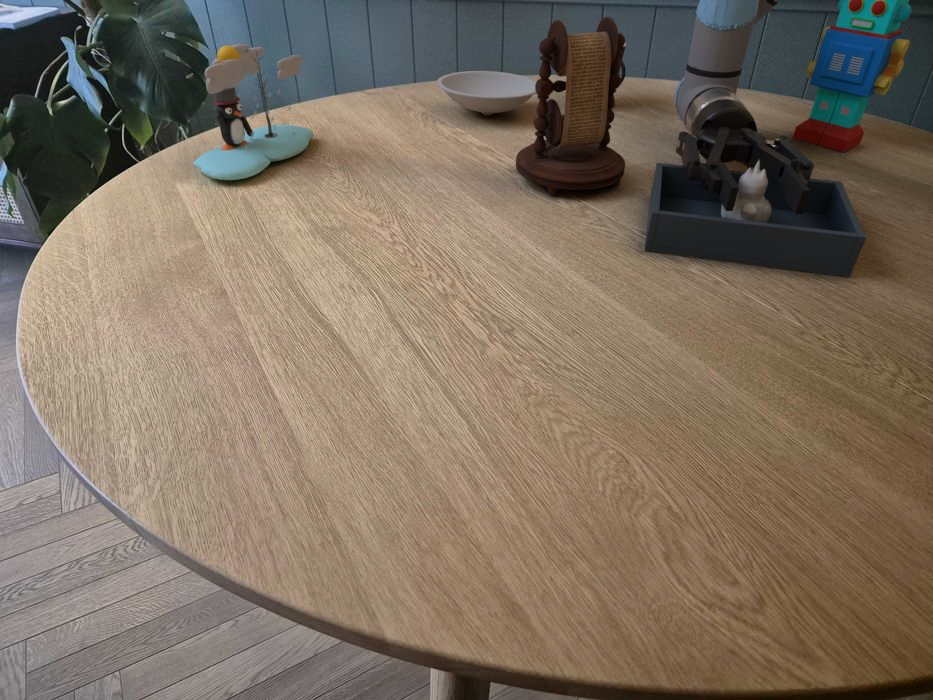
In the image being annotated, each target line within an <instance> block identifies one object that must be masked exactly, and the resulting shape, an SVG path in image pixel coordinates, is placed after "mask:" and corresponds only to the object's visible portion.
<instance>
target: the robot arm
mask: <svg viewBox="0 0 933 700" xmlns="http://www.w3.org/2000/svg"><path fill="white" fill-rule="evenodd" d="M779 2H781V0H699V1H698V5H697V6H696V11H695V14H696V15H695V21H694V27H693V32H692V38H691V44H690V49H689V53H688V59H687V63H686V66H685V70H684V75H683V77H682V78H681V79H680V80H679V82H678V84H677V86H676V88H675V92H674V105H675V108H676V112H677V115H678V116H679V119H680V120H681V121H682V122H683V124H684V126H685V128H686V129H687V131H680V132H679V133H678V137H677V142H676V148H675V154H677V155H678V156H679V157H680V158H681V163H682V165H683V168H684V174H685V179H686V180H687V181H696V178H699V179H702V183H701V189H703V190H710V191H711V192H716V193H717V195H718V197H719V199H720V201H721V203H722V205H723V207H724V209H725V211H733V208H734V204H735V201H736V197H737V193H738V190H739V187H738V185H737V183H736V182H735V180H734V178H733V176H732V175H731V173H730V171H729V170H730V169H729V168H728V166H727V164H728V163H733V162H736V163H741V164H742V165H744V166H745V167H747V168H748V169H749V168H751V169H754V168H755V166H756V164H757V162H758V160H759V161H760V171H762V170H763V169H765V171H766V175H768V176H769V177H771V178H772V179H774V180H775V181H777V182H778V183H779V187H778V190H779V191H780V192H781V194H782V195H783V197H784V198H785V200H786V201H787V203H788V204H789V206H790V207H791V208H792V210H793V211H794V213H795V214H803V211H804V208H805V205H806V202H807V199H808V196H809V194H810V189H809V188H808V187H807V185H808V182H809V180H810V178H811V177H812V173H813V171H814V168H815V163H814V162H812V161H811V160H810V159H809V158H808V157H807V156H806V155H805V154H804V153H803V152H801V151H800V150H799V149H798V148H797V147H796V146H795V145H794V144H793V143H791V140H790V137H789V136H787V135H784V134H782V135H779V136H778V138H775V139H774V140H771V139H770V140H769V139H767V138H766V136H765V135H764V134H763V133H760V132H759V131H758V127H757V123H756V120H755V118H754V116H753V115H752V114H751V112H750V111H749V109H748V108H747V107H746V106H745V104H744V102H743V101H742V100H741V99H740V98H739V97H738V95H737V90H738V86H739V83H740V79H741V75H742V71H743V65H744V62H745V58H746V55H747V51H748V47H749V43H750V39H751V36H752V32H753V29H754V26H756V24H757V23H758V22H759V21H760V20H762V19H763V18H764V16H766V15H767V14H768V13H769V12H770V11H771V10H773V8H775V6H777V4H779ZM700 156H701V157H702V158H703V159H704V160H706V161H705V163H704V162H701V157H700Z"/></svg>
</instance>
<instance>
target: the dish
mask: <svg viewBox="0 0 933 700" xmlns="http://www.w3.org/2000/svg"><path fill="white" fill-rule="evenodd" d="M536 82H537V80H535V79H532V78H530V77H527V76H523V75H520V74H515V73H510V72H505V71H495V70H494V71H493V70H492V71H491V70H468V71H457V72H452V73H448V74H444V75H442V76H440V77H439V78H438V79H437V81H436V84H437V87H438V88H440V89H441V90H443V91H444V92H445V93H446V95H447V96H448V97H449V98H450V99H451V100H452V101H453V102H454V103H456V104H457V105H459V106H461V107H462V108H464V109H467V110H469V111H473V112H479V113H482V115H484V116H492V115H493V114H499V113H505V112H510V111H513V110H515V109H518V108H520V107H521V106H522V105H524V104H525V103H526V102H527V101H529V100H530V99H531V98H532V97H533V96H534V95H537V93H536V91H535V84H536Z"/></svg>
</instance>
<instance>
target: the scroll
mask: <svg viewBox="0 0 933 700" xmlns="http://www.w3.org/2000/svg"><path fill="white" fill-rule="evenodd" d="M625 43H626V38H625V36H624V35H623V33H621V32H619V29H618V27H617V24H616V22H615V20H614V19H613V17H611V16H605V17H603V18H601V20H600V21H599V22H598V25H597V28H596V32H593V31H592V32H581V33H568V32H567V28H566V26H565V24H564V22H562V20H559V19H556V20H554V21H553V22H552V23H551V25H550V27H549V29H548V32H547V37H545V38H542V40H541V41H540V43H539V45H538V51H539V52H540V54H541V56H539V60H541V61H542V62H541V64H540V67H539V71H538V76H539V79H537V80H536V84H535V91H536V95H537V96H536V98H537V99H538V103H537V106H536V109H535V112H536V114H537V116H536V117H535V119H534V120H533V127H534V129H535V130H536V131H535V132H534V136H536V138H535V140H534V142H533V143H531V144H529V145H527V146H525V147H523V148H522V149H521V150H519V152H518V153H517V154H516V157H515V169H516V171H517V172H518V174H519V175H520V176H522V178H525V179H526V180H528V181H530V182H532V183H534V184H538V185H541V186H544V187H547V192H548V195H549V196H550V197H553V196H554V195H555V194H556V190H557V189H561V190H571V191H572V190H573V191H581V190H582V191H584V190H585V191H586V190H594V189H595V190H596V189H600V188H605V187H608V186H611V185H612V186H613V187H614V188H617V187H618V186H619V184H620V183H621V179H622V178H623V177H624V175H625V169H626V160H625V159H624V157H623V156H622V155H621V154H620V153H619V152H617V151H615V150H614V149H613V148H611V147H610V146H608V145H609V144H610V142H611V135H610V129H612V128H613V127H612V126H613V125H611V123H613V121H614V120H615V112H614V110H613V109H614V107H615V104H616V103H615V101H616V100H615V93H617V90H618V89H619V88H620V86H621V85H620V83H621V75H620V73H619V74H618V73H617V72H618V70H619V68H620V69H621V67H620V61H619V55H621V54H622V52H621V51H620V49H622V48H623V46H624V44H625ZM552 70H553V71H554V72H555V74H556V76H557V77H561V78H562V77H566V78H565V80H561V79H557V80H554V82H553V81H552V80H551V79H549V78H550V77H551V75H552ZM621 84H622V83H621ZM564 91H565V97H564V98H565V101H564V102H565V103H564V114H562V112H561V108H560V106H559V104H558V102H557V101H556V100H555V99H554V98H550V95H551V94H552V93H554V92H555V93H562V92H564Z"/></svg>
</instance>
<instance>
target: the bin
mask: <svg viewBox="0 0 933 700" xmlns="http://www.w3.org/2000/svg"><path fill="white" fill-rule="evenodd" d="M728 170H729V171H730V173H731V175H732V176H733V178H734V180H735V182H736V183H737V185H738V183H739V179H740V177H741V176H742V175H743V174H744V173H745V172H746V171H742V170H741V171H740V170H731V169H728ZM766 176H767V180H768V185H767V188H766V191H765V194H764V197H765V199H766V200H768V201H769V202H770V204H771V209H772V213H771V215H770V218H769V220H768V221H767V222H766V223H763V222H755V221H746V220H737V219H729V218H722V216H721V207H722V203H721V201H720V199H719V197H718V195H717V193H716V192H711V191H710V190H703V189H701V183H702V179H699V178H696V181H687V180H686V179H685V174H684V168H683V164H682V165H681V164H673V163H662V162H656V165H655V169H654V175H653V180H652V185H651V190H650V196H649V202H648V203H649V205H648V212H647V213H648V214H647V223H646V233H645V242H644V252H648V253H649V252H650V253H656V254H657V253H658V254H664V255H673V256H679V257H680V256H681V257H688V258H695V259H703V260H712V261H719V262H726V263H735V264H743V265H751V266H759V267H765V268H766V267H768V268H773V269H781V270H790V271H796V272H797V271H798V272H805V273H812V274H821V275H829V276H837V277H842V278H843V277H844V278H850V277H851V275H852V273H853V270H854V268H855V266H856V264H857V261H858V259H859V256H860V254H861V251H862V249H863V247H864V245H865V242H866V240H867V235H866V233H865V231H864V229H863V227H862V225H861V223H860V219H859V218H858V216H857V213H856V211H855V209H854V206H853V204H852V202H851V200H850V198H849V196H848V194H847V192H846V189H845V186H844V183H843V182H842V181H840V180H830V179H819V178H811V177H810V180H809V182H808V185H807V187H808V188H809V189H810V194H809V196H808V199H807V202H806V205H805V208H804V211H803V214H795V213H794V211H793V210H792V208H791V207H790V206H789V204H788V203H787V201H786V200H785V198H784V197H783V195H782V194H781V192H780V191H779V190H778V187H779V183H778V182H777V181H775V180H774V179H772V178H771V177H769V176H768V175H766Z"/></svg>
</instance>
